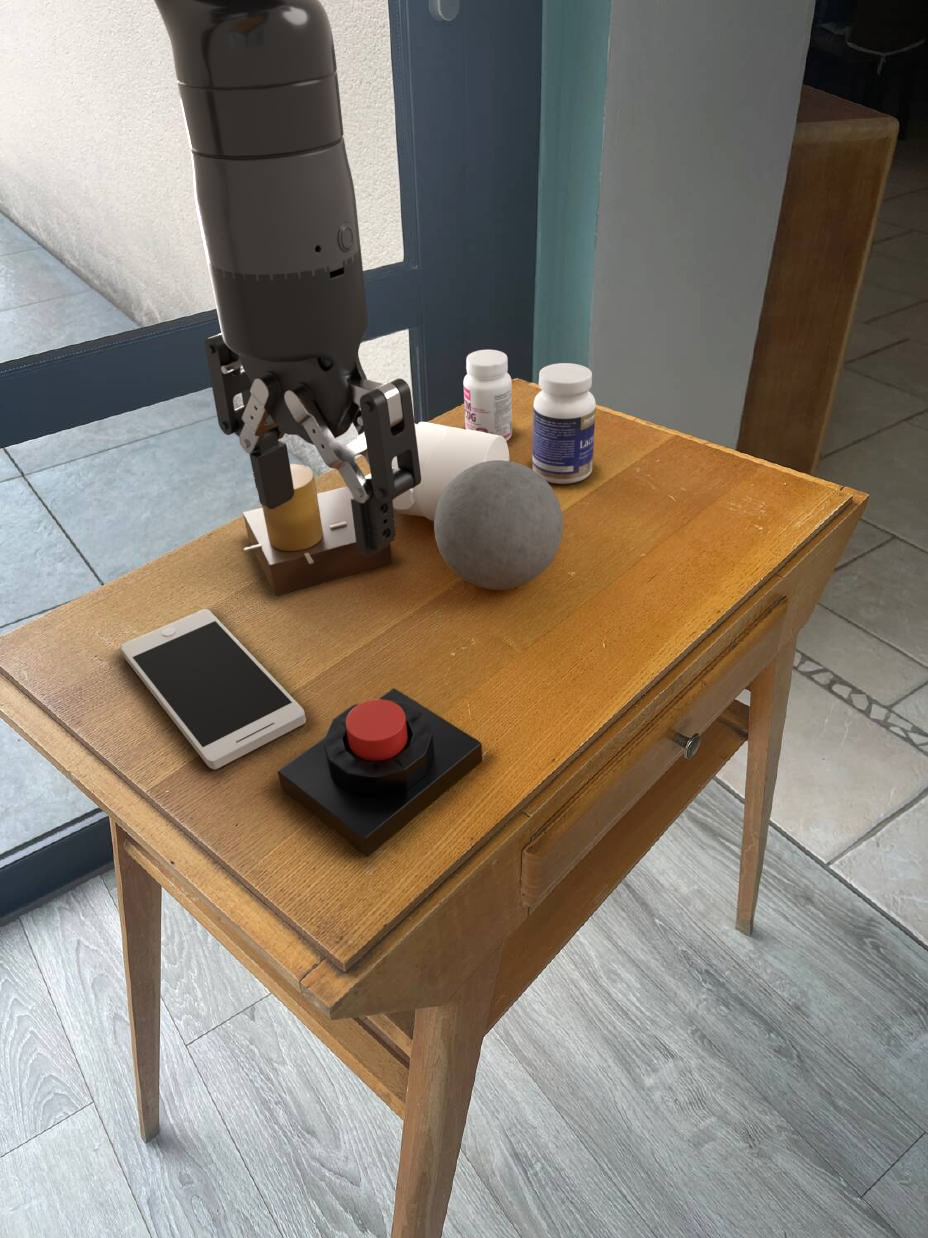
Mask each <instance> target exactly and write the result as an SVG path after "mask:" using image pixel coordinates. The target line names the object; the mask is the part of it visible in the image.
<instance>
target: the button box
mask: <svg viewBox="0 0 928 1238" xmlns="http://www.w3.org/2000/svg"><path fill="white" fill-rule="evenodd" d="M378 699H382V700H388V701H392V702H394V703H396V704H397V705H399V706H400V707H401V708H402V709H403V711H404V713H405V717H406V727H407V737H408V738H407V743H406V745H405V747H404V748H403V750H402V751H401V752H400V753H398V754H397V755H395V756H394V757H392V758H389V759H386V760H381V761H369V760H365V759H362V758H359V757H358V756H356V755H355V754H354V753H353V752H352V750H351V749H350V746H349V741H348V735H347V729H346V718H347V716H348V714H349V712H350V711H351V710H352V709H353V708H354V707H356V706H357V705H359V704H361V703H362V702H361V703H356V704H353V705H351V706H350V707H349V708H347V709H345V710H344V711H343V712H341V713H339V714H338V715H337V716H335V717H334V718H333V719H332V720H331V722H330V724H329V727H328V728H327V731H326V732H325V735H324V736H323V738H322V739H320V740H319V741H317V742H316V743H314V744H313V745H311V746H310V747H309V748H308V749H306V750H305V751H303V752H302V753H300V754H299V755H297V756H296V757H295V758H294V759H292V760H291V761H290V762H287V763H286V764H285V765H283V766H282V767H281V768H279V769H278V770H277V776H278V779H279V785H280V788H281V790H282V791H283V792H285V793H286V794H287V795H288V796H289V797H290V798H292V799H293V800H295V801H296V802H297V803H298V804H300V805H301V806H302V807H304V808H305V809H306V810H307V811H308V812H310V813H311V814H312V815H313V816H315V817H316V818H318V819H319V820H320V821H321V822H322V823H324V824H325V825H326V826H327V827H328V828H330V829H332V830H333V832H335V833H336V834H338V835H339V836H340V837H342V838H343V839H344V840H345V841H347V842H348V843H349V844H350V845H351V846H353V847H354V848H355V849H357V850H358V851H359V852H361V853H362V855H364V856H365V857H368V858H369V857H370V856H371V855H372V854H373V853H375V852H376V851H377V850H378V849H379V848H380V847H382V846H383V845H384V844H385V843H387V842H388V841H389V840H390V839H392V838H393V837H394V836H395V835H396V834H398V833H399V832H400V831H402V829H403V828H405V827H406V826H407V825H408V824H409V823H411V822H412V821H413V820H414V819H415V818H416V817H418V816H419V815H420V814H421V813H423V812H424V811H425V810H426V809H427V808H428V807H430V806H431V805H432V804H433V803H434V802H435V801H436V800H438V799H439V798H441V797H442V796H443V795H444V794H445V793H447V792H448V791H450V789H451V788H453V786H455V785H456V784H457V783H459V781H461V780H462V779H463V778H464V777H466V775H468V774H469V773H470V772H471V771H473V770H474V769H475V768H476V767H478V766H479V765H480V764H481V763H482V762H483V745H482V742H481V741H479V740H478V739H476V738H475V737H473V736H471V735H470V734H468V733H467V732H465V731H464V730H462V729H461V728H459V727H457V726H456V725H454V724H452V723H451V722H449V721H448V720H446V719H444V718H443V717H441V716H439V715H438V714H437V713H435V712H433V711H432V710H430V709H428V708H427V707H425V706H424V705H422V704H420V703H419V702H417V701H416V700H414V699H413V698H411V697H409V696H407V694H404V693H403V692H401V691H399V690H398V689H396V688H395V687H394V688H392V689H390V690H389V691H387V692H386V693H384V694H383V695H382V696H380V697H379V698H378Z"/></svg>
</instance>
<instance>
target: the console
mask: <svg viewBox="0 0 928 1238" xmlns="http://www.w3.org/2000/svg"><path fill="white" fill-rule="evenodd" d="M317 497H318V504H319V510H320V516H321V523H322V529H323V536H322V538H321V540H320V541H319V542H318V543H317V544H315V545H313V546H312V547H309V548H307V549H303V550H299V551H283V550H279V549H276V548H275V547H273V546H272V545H271V544H270V542H269V538H268V533H267V528H266V523H265V518H264V513H263V508H262V507H258V508H254V509H250V510H247V511H242V516H243V520H244V525H245V529H246V535H247V539H248V542H249V544H250V545H249V546H246V547H243V551H244V552H249V551H253V552H254V555H255V556H256V559H257V560H258V563H259V564H260V567H261V569H262V570H263V573H264V574H265V576H266V578H267V581H268V583H269V584H270V587H271V589H272V590H273V593H274V595H275V596H281V595H285V594H288V593H291V592H295V591H299V590H301V589H306V588H309V587H312V586H317V585H320V584H323V583H327V582H331V581H335V580H337V579H341V578H345V577H348V576H352V575H356V574H359V573H362V572H366V571H369V570H373V569H377V568H380V567H384V566H387V565H391V564H393V557H392V556H393V555H392V547H391V544H390V545H389V546H388V547H386V548H385V549H383V550H382V551H380V552H378V553H377V554H375V555H374V556H372V557H367V556H365V555H363V554H361V553H359V552H358V550H357V545H356V537H355V529H354V521H353V514H352V506H351V499H352V498H354V497H353V495H352V493H351V492H350V490H349V488H348V487H347V485H346V486H342V487H338V488H335V489H331V490H326V491H323V492H317Z"/></svg>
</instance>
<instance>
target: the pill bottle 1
mask: <svg viewBox="0 0 928 1238" xmlns="http://www.w3.org/2000/svg"><path fill="white" fill-rule="evenodd" d="M508 361H509V360H508V356H507V354H506V353H504V352H503V351H501V350H497V349H480V350H479V349H478V350H476V351H472V352H471V353H469V354H467V356H466V364H465V365H466V366H465V369H466V374H465V376H464V378H463V402H464V404H463V405H464V424H465V425H464V426H465V428H464V429H466V430H475V431H481V432H485V433H488V434H494V435H500V436H502V437H504V439H505V440H506V442H507V441H509V440H510V439H511V437H512V434H513V382H512V377H511V375H510V374H509V373H508V369H509V367H508V366H509V365H508V364H509V363H508Z"/></svg>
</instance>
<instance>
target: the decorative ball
mask: <svg viewBox="0 0 928 1238" xmlns="http://www.w3.org/2000/svg"><path fill="white" fill-rule="evenodd" d="M563 518H564V517H563V512H562V507H561V504H560V501H559V499H558V497H557V495H556V493H555V491H554V489H553V487H552V486H551V485H550V484H549V482H547V481H545V479H544V478H543V477H542V476H540V475H539V474H538V473H536V472H535V471H534V470H533V468H531V467H529V466H526V465H524V464H521V463H519V462H516V461H510V460H509V461H503V460H493V461H487V462H482V463H479V464H476V465H474V466H472V467H470V468H468V469H466V470H464V471H463V472H461V473H460V474H459V475H458V476H456V477H455V478H454V479H453V480H452V481H451V482H450V484H449V485H448V486H447V487H446V489H445V490H444V492H443V494H442V496H441V498H440V500H439V502H438V505H437V509H436V513H435V520H434V521H433V527H434V528H433V531H434V536H435V542H436V545H437V548H438V550H439V553H440V555H441V557H442V559H443V560H444V561H445V563H446V564H447V566H448V567H449V568H450V569H451V570H452V571H453V572H454V574H456V575H457V576H458V577H459V578H461V579H462V580H464V581H465V582H467V583H469V584H471V585H474V586H475V587H478V588H483V589H487V590H494V591H495V590H497V591H501V590H509V589H514V588H518V587H521V586H524V585H526V584H528V583H530V582H531V581H533V580H535V579H536V578H538V577H539V576H540V575H542V573H543V572H544V571H545V570H547V569H548V567H549V566H550V565H551V563H552V562H553V560H554V559H555V557H556V556H557V553H558V552H559V549H560V546H561V542H562V539H563V532H564V519H563Z"/></svg>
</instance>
